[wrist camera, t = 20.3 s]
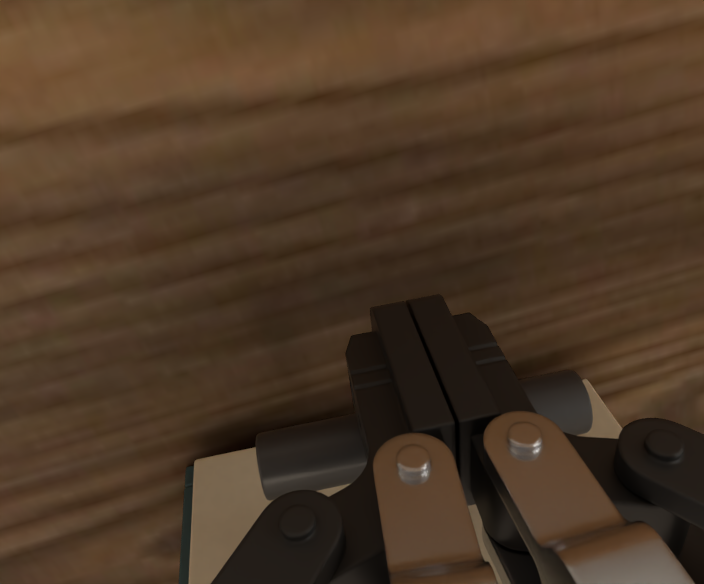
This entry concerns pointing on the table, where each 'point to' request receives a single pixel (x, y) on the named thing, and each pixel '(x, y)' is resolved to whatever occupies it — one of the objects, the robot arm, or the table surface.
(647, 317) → the table surface
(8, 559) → the table surface
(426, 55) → the table surface
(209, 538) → the drawer
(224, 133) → the table surface
